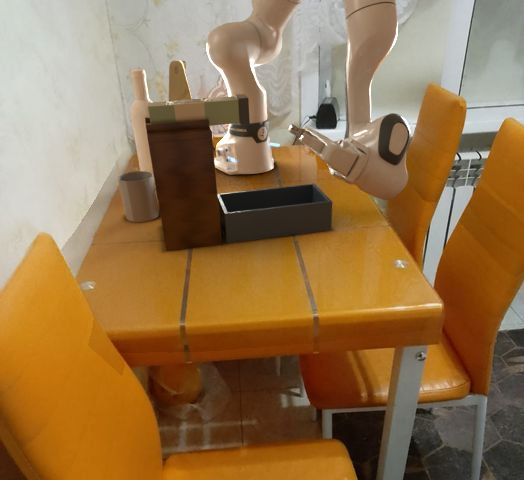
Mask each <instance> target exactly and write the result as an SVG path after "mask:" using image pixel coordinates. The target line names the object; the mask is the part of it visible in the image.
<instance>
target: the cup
mask: <svg viewBox="0 0 524 480" xmlns="http://www.w3.org/2000/svg"><path fill="white" fill-rule="evenodd" d="M117 180H118V186H119V190H120V194H121V200H122V206H123V208H124V214H125V218H126V220H127V221H130V222H133V223H143V222H150V221H152V220H155V219H157V218H158V217H160V210H159V204H158V198H157V192H156V189H155V185H154V179H153V174H152V173H150V172H146V171H140V170H136V171H128V172H126V173H122V174H120V175H119V176H118V178H117Z"/></svg>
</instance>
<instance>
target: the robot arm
mask: <svg viewBox="0 0 524 480" xmlns="http://www.w3.org/2000/svg"><path fill="white" fill-rule="evenodd" d="M303 2H304V0H251V5H252V11H251V14H250V15H249V16H248V17H247V18H246V19H245V20H242V21H234V22H226V23H223V24H221V25H219V26H217V27H215V28H213V29H212V30H211V31H210V32H209V34H208V36H207V39H206V53H207V56H208V59H209V61H210V62H211V64H212V65H213V66H214V67H215V68H216V69H217V70H218V71H219V73H220V74H221V76H222V78H223V81H224V83H225V86H226V89H227V94H228V97H229V96H235V95H238V94H245V95H246V96H247V97H248V98H249V119H250V124H240V123H235V124H225V127H228V128H227V134H225V135H224V136H223V138H222V139H221V140H220V141H219V142H217V144H216V146H213V151H214V150H215V157H214V162H215V169H217V170H219V171H221V172H223V173H225V174H227V175H231V176H232V175H233V176H234V175H254V174H261V173H266V172H269V171H272V169H274V168H275V165H274V163H275V158H273V154H272V153H273V152H272V147H277V148H278V147H280V143H275V142H271V136H270V135H269V132H270V119H269V117H268V94H267V93H268V92H267V90H266V88H265V87H264V85H262V84H261V83H260V82H259V79H258V77H257V75H256V74H257V73H256V70H255V69H256V68H255V67H257V66H263V65H266V64H268V63H270V62H271V61H273V60H275V59H276V58H277V57H278V56H279V55H280V53H281V51H282V48H283V33H284V30H285V29H286V26H287V25H288V23H289V22H290V20H291V19H292V17H293V16H294V14H295V13H296V12H297V10H298V9H299V7H300V6H301V5H302V3H303ZM342 3H343V8H344V17H345V19H344V20H345V24H346V26H345V27H346V58H345V64H344V102H345V133H344V138H343V139H338V140H337V141H336V142H335V141H334V140H333V139H331V138H329V137H328V136H325V135H324V134H323V133H321V132H319V131H317V130H315V129H314V128H312V127H310V126H308V125H307V126H304V127H300V126H298V125H296V124H294V123H291V124H290V125H289V126H288V129H287V130H288V132H289V133H290V134H292V135H294V136H296V137H297V138H298V140H299V142H300V143H301V144H303V145H304V146H305V147H306V148H308V150H310V151H311V152H312V153H314V154H315V155H316V156H317V157H319V159H321V160H322V161H323V163H325V164H326V166H327V168H328V171H329V174H330V176H333V177H334V178H336V179H338V180H340V181H342V182H344V183H346V184H347V185H350V186H351V185H352V186H356V187H357V188H358V189H359V190H360V191H361V192H363V193H365V194H367V195H369V196H372V197H374V198H377V199H380V200H384V201H388V200H391V199H394V198H396V197H398V196H399V195H400V194H401V193H402V192H403V191H404V190H405V188H406V186H407V184H408V181H409V173H408V170H407V152H408V148H409V145H410V142H411V137H412V136H411V135H412V134H411V133H412V132H411V128H410V125H409V123H408V121H407V120H406V119H405V118H404V117H403V116H402V115H400V114H398V113H396V112H395V113H394V112H393V113H391V112H390V113H388V114H385V115H383V116H380V117H377V118H375V119H374V120H372V98H371V97H372V96H371V90H372V89H371V87H372V82H373V79H374V76H375V74H376V72H377V71H378V69H379V67H380V66H381V64H382V63H383V61H385V59H386V58H387V56H388V55H389V53H390V52H391V51H392V49H393V47H394V46H395V43H396V41H397V38H398V30H399V29H398V27H399V19H398V9H397V1H396V0H342ZM214 147H216V148H214Z"/></svg>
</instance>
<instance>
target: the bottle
mask: <svg viewBox="0 0 524 480" xmlns="http://www.w3.org/2000/svg"><path fill="white" fill-rule="evenodd" d="M130 78H131V81H132V88H133V93H134V99H135V100H134V101H133V103H132V104H131V106H130V111H129V117H130V122H131V126H132V132H133V133H132V134H133V138H134V143H135V149H136V155H137V160H138V165H139V171H146V172H150V173H152V174H153V168H152V162H151V156H150V150H149V144H148V138H147V131H146V122H145V117H149V111H148V104H147V103H151V102H153V101H152V100H151V99H150V97H149V89H148V84H147V83H148V82H147V74H146V71H145V69H143V68H134V69H131V70H130ZM153 179H154V174H153ZM154 185H155V180H154ZM155 190H156V186H155Z"/></svg>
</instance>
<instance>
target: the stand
mask: <svg viewBox="0 0 524 480" xmlns="http://www.w3.org/2000/svg"><path fill="white" fill-rule="evenodd" d="M145 122H146V131H147V138H148V144H149V150H150V156H151V162H152V168H153V174H154V180H155V186H156V189H155V191H156V197H157V203H158V209H159V217H160V221H161V228H162V235H163V240H164V247H165V252H166V251H167V252H168V251H175V250H176V251H177V250H184V249H193V248H200V247H209V246H217V245H218V246H219V245H222V244H223V239H222V228H221V226H220V216H219V205H218V195H217V194H218V186H217V185H218V184H217V174H216V168H215V162H214V158H215V153H214V149H213V147H214V144H213V140H212V131H211V129H210V125H209V119H196V120H184V121H172V122H160V123H150V117H145Z"/></svg>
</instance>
